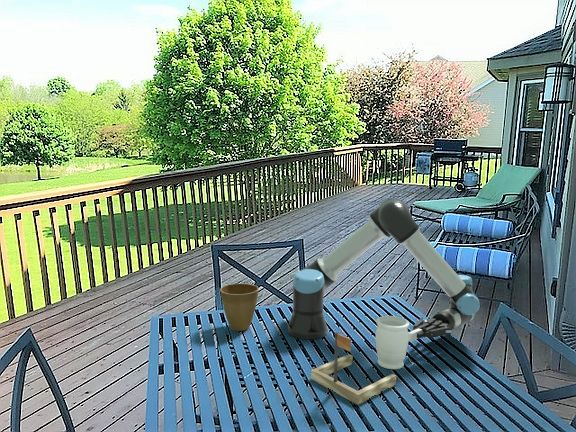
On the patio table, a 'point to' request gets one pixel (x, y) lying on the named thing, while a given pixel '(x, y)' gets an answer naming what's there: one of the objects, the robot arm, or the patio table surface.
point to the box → (323, 371)
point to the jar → (391, 341)
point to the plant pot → (239, 304)
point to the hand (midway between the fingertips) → (409, 337)
